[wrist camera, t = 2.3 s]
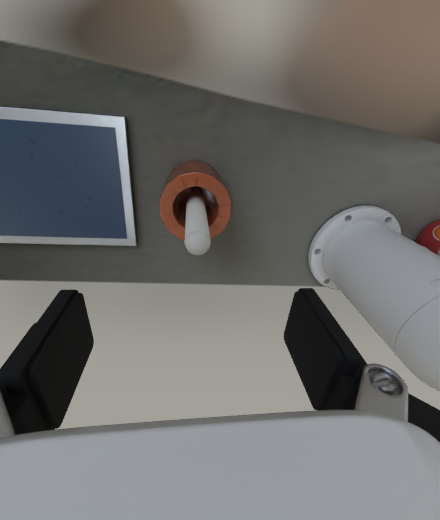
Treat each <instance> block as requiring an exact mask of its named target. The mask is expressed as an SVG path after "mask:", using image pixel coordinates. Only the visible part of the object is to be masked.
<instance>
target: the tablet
mask: <svg viewBox="0 0 440 520" xmlns="http://www.w3.org/2000/svg"><path fill="white" fill-rule="evenodd" d="M0 243H25V244H69V245H113V246H137V243H138V242H137V231H136V220H135V209H134V197H133V186H132V175H131V164H130V153H129V142H128V131H127V119H126V117H122V116H110V115H98V114H86V113H74V112H61V111H49V110H37V109H25V108H13V107H1V106H0Z"/></svg>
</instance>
